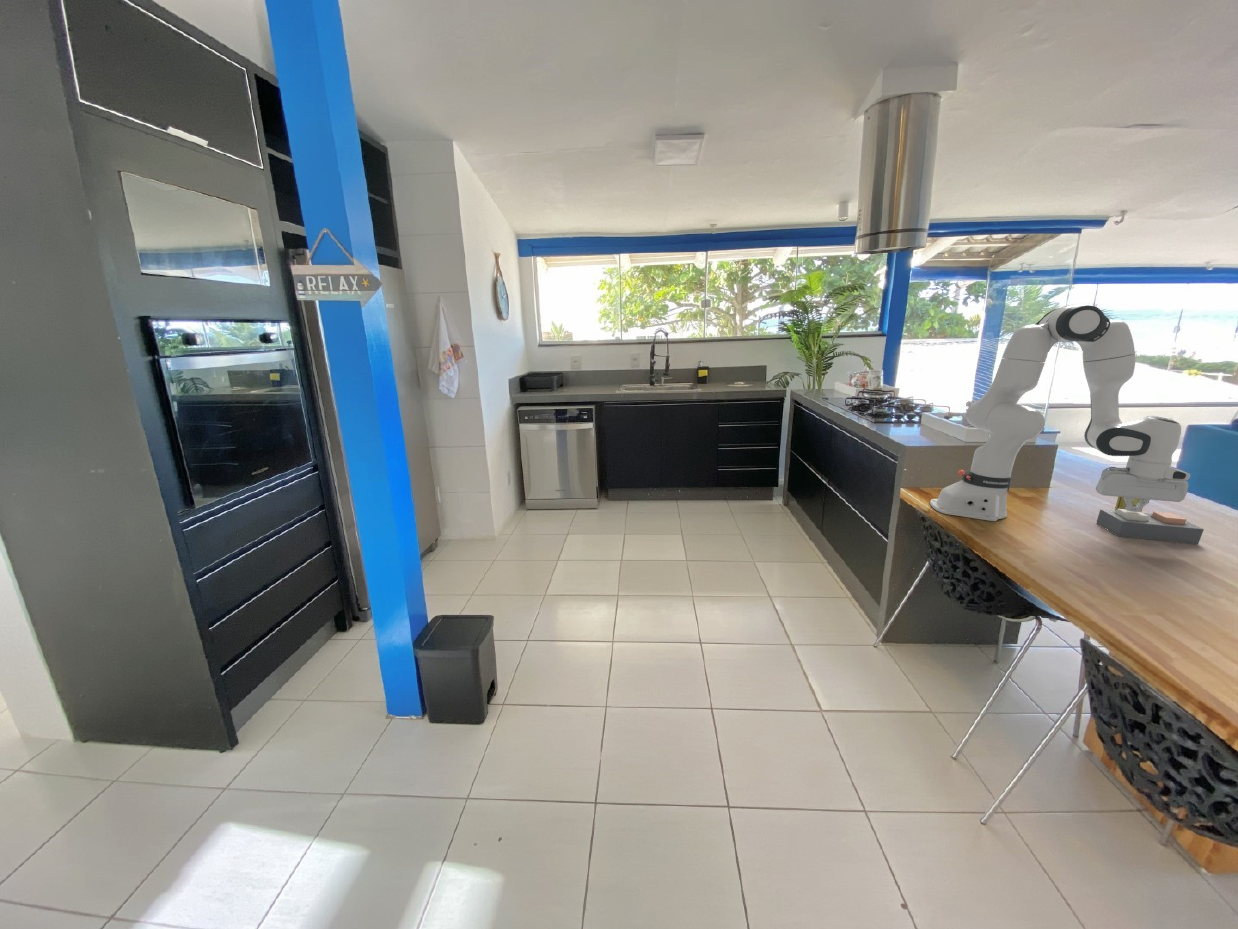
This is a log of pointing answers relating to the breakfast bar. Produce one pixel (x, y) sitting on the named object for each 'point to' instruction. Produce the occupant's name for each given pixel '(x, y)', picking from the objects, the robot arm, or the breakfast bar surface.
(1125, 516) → the cream key
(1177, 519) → the terracotta key
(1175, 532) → the keypad
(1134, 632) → the breakfast bar surface
